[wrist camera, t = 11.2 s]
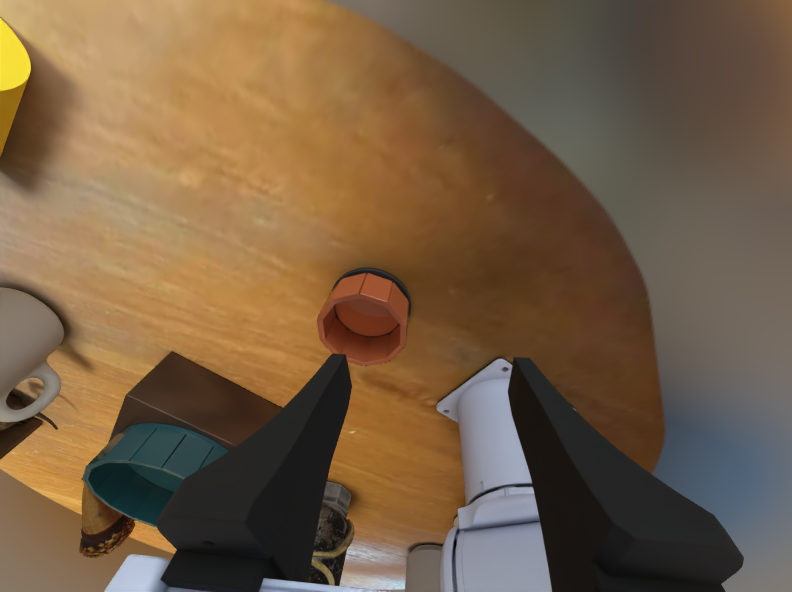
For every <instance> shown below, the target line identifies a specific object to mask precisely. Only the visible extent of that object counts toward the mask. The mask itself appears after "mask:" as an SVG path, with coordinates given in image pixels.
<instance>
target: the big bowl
mask: <svg viewBox="0 0 792 592" xmlns="http://www.w3.org/2000/svg"><path fill="white" fill-rule="evenodd" d="M228 451H229V450H227V449H226V448H225V447H223V446H222V445H220V444H219V443H217V442H215V441H213V440H212V439H210V438H208V437H206V436H204V435H201V434H199V433H197V432H194V431H191V430H188V429H185V428H182V427H178V426H174V425H169V424H162V423H140V424H134V425H131V426H129V427H127V428H125V429H124V430H123V431H121V432H120V433H118V434H117V435H116V436H115V437H114V438H113V439H112V440H111V441H110V442H109V443H108V444H107V445H106V446H105V447H104V448H103V449H102V451H101V452H100V453H99V454H98V455H97V456H96V457H95V458H94V459H93V460H92V461H91V462H90V463H89V464H88V465H87V466H86V469H85V472H84V475H83V480H84V481H85V483H86V485H87V487H88V488H89V490H90V492H91V493H92V494H94V495H95V496H96V497H97V498H99V499H100V500H101V501H102V502H103V503H105V504H106V505H107V506H109V507H110V508H112V509H114V510H116V511H118V512H120V513H122V514H124V515H125V516H127V517H129V518H132V519H134V520H137V521H139V522H142V523H145V524H148V525H150V526H153V527H157V523H156V521H157V519H158V517H159V516H160V514H161V513H162V511H163V509H164V508H165V506H166V505H167V503H168V502H169V500H170V499H171V497H172V496H173V494H174V493H175V491H176V489H177V488H178V487H179V485H180V484H181V483H182V481H183V480H184V478H186V477H188V476H189V475H191V474H193V473H195V472H196V471H198V470H200V469H201V468H203V467H205V466H206V465H208V464H210V463H211V462H213V461H215V460H216V459H218V458H219V457H221V456H222V455H224V454H225V453H227V452H228Z"/></svg>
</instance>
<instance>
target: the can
mask: <svg viewBox="0 0 792 592" xmlns="http://www.w3.org/2000/svg"><path fill="white" fill-rule="evenodd" d="M441 551H442V546H437V545H421V546H417V547H416V548H414V549H413V551H412V552H411V553H410V554H409V555H408V556H407V564H406V584H405V592H440V580H439V567H440V556H441Z"/></svg>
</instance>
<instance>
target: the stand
mask: <svg viewBox="0 0 792 592" xmlns="http://www.w3.org/2000/svg"><path fill="white" fill-rule="evenodd" d="M282 409H283V408H281V407H279V406H277V405H275V404H273V403H271V402H269V401H267V400H265V399H263V398H261V397H259V396H257V395H255V394H253V393H251V392H249V391H248V390H246V389H244V388H242V387H240V386H238V385H236V384H234V383H232V382H230V381H228V380H226V379H224V378H222V377H220V376H218V375H216V374H214V373H213V372H211V371H209V370H207V369H205V368H203V367H201V366H199V365H197V364H195V363H193V362H191V361H189V360H187V359H185V358H183V357H181V356H179V355H178V354H176V353H174V352H171V353H169V354H168V355H167V356H166V357H165V358H164V359H163V360H162V361H161V362H160V363H159V364H158V365H157V366H156V367H155V368H154V369H153V370H152V371H151V372H149V373H148V374H147V375H146V376H145V377H144V378H143V379H142V380H141V381H140V382H139V383H138V384H137V385H136V386H135V387H134V388H133V389H132V390H131V391H129V392H128V393H127V394H126V396H125V399H124V402H123V404H122V407H121V410H120V413H119V415H118V418H117V421H116V423H115V426H114V429H113V432H112V434H111V437H110V440H109V442H110V441H111V440H112V439H113V438H114V437H115V436H116V435H117V434H118V433H120V432H121V431H123V430H124V429H125V428H127V427H129V426H131V425H134V424H140V423H162V424H169V425H174V426H178V427H182V428H185V429H188V430H191V431H194V432H197V433H199V434H201V435H204V436H206V437H208V438H210V439H212V440H213V441H215V442H217V443H219V444H220V445H222V446H223V447H225V448H226V449H227V450H229V451H230V450H231V449H233V448H234V447H236V446H237V445H239V444H240V443H242V442H243V441H244V440H246V439H247V438H248V437H249V436H251V435H252V434H253V433H255V432H256V431H257V430H259V429H260V428H261V427H262V426H263V425H265V424H266V423H267V422H268V421H269V420H271V419H272V418H273V417H274V416H275V415H276V414H277V413H278V412H280V411H281V410H282ZM109 442H108V443H109Z"/></svg>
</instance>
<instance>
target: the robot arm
mask: <svg viewBox="0 0 792 592" xmlns="http://www.w3.org/2000/svg"><path fill="white" fill-rule="evenodd" d="M504 367H507V368H504ZM351 389H352V384H351V379H350V373H349V368H348V363H347V357H346V354H332V355H331V356H330V357H329V358H328V359H327V360H326V362H325V363H324V364H323V365H322V367H321V368H320V369H319V370H318V371H317V372H316V374H315V375H314V376H313V377H312V378H311V379H310V381H309V382H308V383H307V384H306V385H305V386H304V387H303V388H302V389H301V391H300V392H299V393H298V394H297V395H296V396H295V397H294V398H293V399H292V400H291V401H290V402H289V403H288V404H287V405H286V406H285V407H284V408H283V409H282V410H281V411H280V412H278V413H277V414H276V415H275V416H274V417H273V418H272V419H271V420H269V421H268V422H267V423H266V424H265V425H263V426H262V427H261V428H260V429H259V430H257V431H256V432H255V433H253V434H252V435H251V436H249V437H248V438H247V439H246V440H244V441H243V442H242V443H240V444H239V445H237V446H236V447H234V448H233V449H231V450H230V451H228V452H227V453H225V454H224V455H222V456H221V457H219V458H218V459H216V460H215V461H213V462H211V463H210V464H208V465H206V466H205V467H203V468H201V469H200V470H198V471H196V472H195V473H193V474H191V475H189V476H188V477H186V478H184V480H183V481H182V483H181V484H180V485H179V487H178V488H177V489H176V491H175V493H174V494H173V496H172V497H171V499H170V500H169V502H168V503H167V505H166V506H165V508H164V509H163V511H162V513H161V514H160V516H159V517H158V519H157V521H156V523H157V528H158V530H159V531H160V533H161V534H162V535H163V536H164V537H165V538H166V539H167V540H168V541H169V542H170V543H171V544H172V545H173V546H174V547H175V548H176V549H177V551H176V553H175V554H174V556H173V558H172V560H171V561H170V560H168V559H165V558H161V557H154V556H144V555H135V554H131V555H129V556H128V557H127V558H126V560H125V561H124V563H123V564H122V566H121V567H120V569H119V570H118V572H117V573H116V575H115V576H114V577H113V579H112V580H111V582H110V583H109V585H108V587H107V588H106V589H105V591H104V592H387V591H380V590H370V589H361V588H351V587H342V586H333V585H323V584H314V583H309V576H310V570H311V563H312V557H313V551H314V545H315V539H316V534H317V528H318V523H319V517H320V512H321V507H322V502H323V497H324V492H325V487H326V482H327V478H328V473H329V469H330V465H331V461H332V457H333V454H334V451H335V448H336V445H337V441H338V438H339V435H340V432H341V429H342V426H343V422H344V419H345V416H346V413H347V409H348V405H349V400H350V395H351ZM436 409H437V411H439V412H440V413H442V414H444V415H445V416H447V417H449V418H450V419H452V420H454V421H456V422H457V423H459V433H460V444H461V456H462V467H463V478H464V489H465V501H466V506H465V507H462V508H458V509H457V510H458V525H459V526H457V527H453V528H451V529H450V530H449V532H448V534H447V536H446V539H445V542H444V544H443V547H442V551H441V556H440V567H439V580H440V592H725V590H724V588H723V587H722V585H721V584H722V583H723V582H724V581H726V580H727V579H728V578H729V577H731V576H732V575H733V574H735V573H736V572H737V571H738V570H739V569H740V568H741V567H742V565H743V560H744V557H743V556H742V554H741V553H740V551H739V550H738V548H737V547H736V545H735V544H734V542H733V541H732V539H731V538H730V536H729V535H728V533H727V532H726V530H725V529H724V528H723V526H722V525H721V524H720V523H719V521H718V520H717V519H716V517H715V516H714V515H713V514H711V513H709V512H708V511H706V510H705V509H703V508H702V507H700V506H698V505H697V504H695V503H694V502H692V501H691V500H689V499H687V498H685V497H684V496H682V495H681V494H679V493H677V492H676V491H675V490H673V489H672V488H670V487H669V486H667V485H666V484H664V483H663V482H662V481H660V480H659V479H657V478H656V477H654V476H653V475H651V474H650V473H649V472H647V471H646V470H645V469H643V468H642V467H640V466H639V465H638V464H637V463H635V462H634V461H633V460H631V459H630V458H629V457H627V456H626V455H625V454H624V453H622V452H621V451H620V450H618V449H617V448H616V447H615V446H614V445H612V444H611V443H610V442H609V441H608V440H606V439H605V438H604V437H603V436H602V435H601V434H600V433H598V432H597V431H596V430H595V429H594V428H593V427H592V426H591V425H590V424H589V423H588V422H587V421H585V420H584V419H583V418H582V417H581V416H580V415H579V414H578V413H577V412H576V410H575V409H574V408H573V407H572V406H571V405H570V404H569V403H568V402H567V401H566V400H565V399H564V398H563V397H562V396H561V395H560V393H559V392H558V391H557V390H556V389H555V388H554V387H553V386H552V384H551V383H550V382H549V381H548V380H547V379H546V377H545V376H544V375H543V374H542V373H541V371H540V370H539V369H538V368H537V366H536V365H535V364H534V363H533V361H532V360H531V359H530V358H514V360H513V365H511V364H510V363H508V362H507V361H505V360H504V359H497V360H495V361H494V362H493V363H491V364H490V365H489V366H487V367H486V368H484V369H483V370H482V371H480V372H479V373H478V374H476V375H475V376H474V377H472V378H471V379H470V380H468V381H467V382H466V383H464V384H463V385H462V386H460V387H459V388H458V389H456V390H455V391H454V392H452V393H451V394H450V395H448V396H447V397H446V398H444V399H443V400H442V401H440V402H439V403H438V404H437V405H436ZM388 592H389V591H388Z"/></svg>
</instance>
